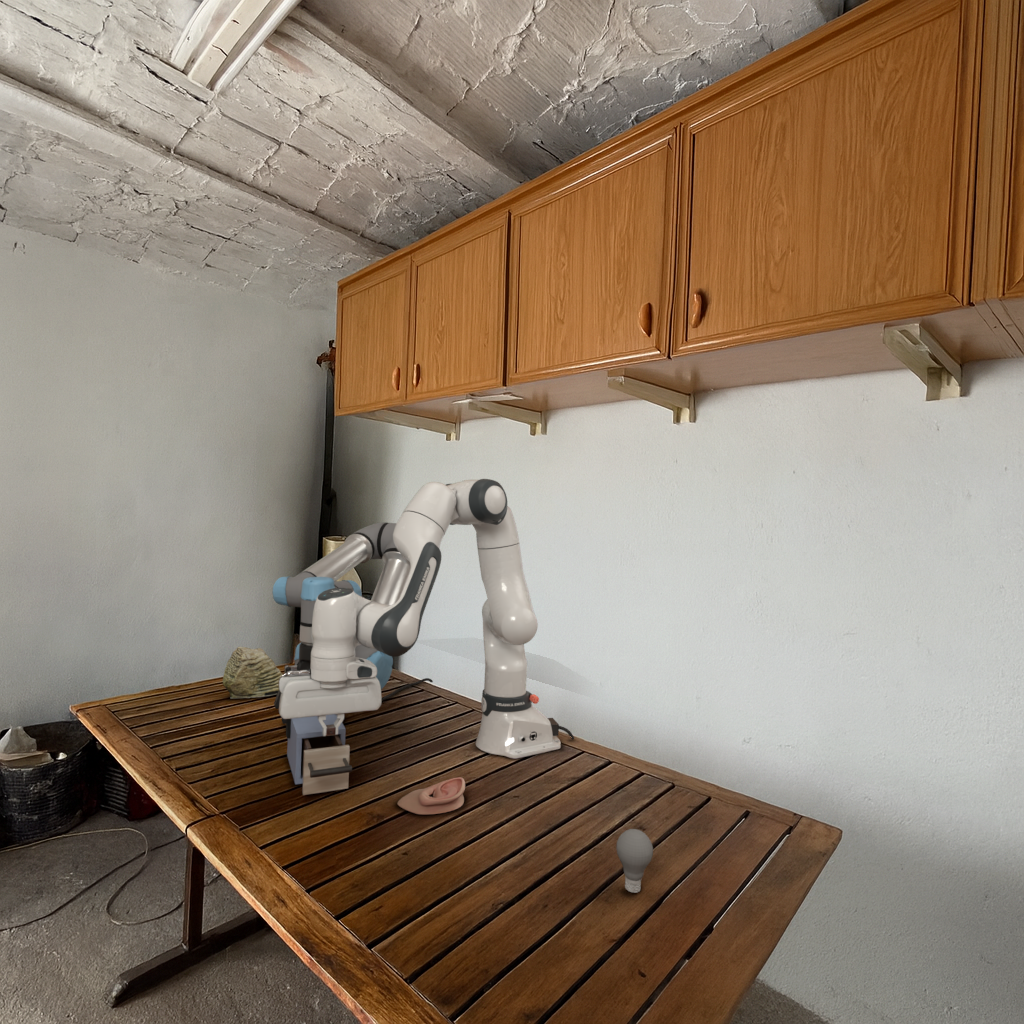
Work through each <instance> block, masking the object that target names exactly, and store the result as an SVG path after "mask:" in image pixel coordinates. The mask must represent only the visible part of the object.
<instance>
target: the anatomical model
mask: <svg viewBox="0 0 1024 1024" xmlns="http://www.w3.org/2000/svg"><path fill="white" fill-rule="evenodd" d="M465 789H466V781H465V779H464V778H463V777H461V776H459V777H453V778H449V779H446V780H442V781H439V782H437V783H435V784H432V785H431V786H430V785H429V786H428V787H425V788H419V789H416V790H412V791H411V792H409V793H406V794H405V795H403V796H402V797H401V798H400V799H399V800H398V801H397V806H398V807H400V808H402V809H403V810H405V811H408V812H410V813H413V814H414V815H415V814H416V815H422V816H423V815H424V816H425V815H436V814H445V813H448V812H449V813H450V812H453V811H455V810H457V809H460V808H461V807H462V806H464V802H465V797H464V792H465Z"/></svg>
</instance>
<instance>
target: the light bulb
mask: <svg viewBox="0 0 1024 1024" xmlns="http://www.w3.org/2000/svg"><path fill="white" fill-rule="evenodd" d="M615 849H616V854H617V857H618V859H619V861H620V863H621V865H622V867H623V873H624V874H623V875H624V876H625V878H624V888H625V890H627V891H628V892H630V893H634V894H635V893H639V892H640V891H641V889H642V887H641V886H642V879H643V877H644V875H645V871H646V868H647V867H648V866H649V864H650V863H651V861H652V859H653V855H654V847H653V843H652V841H651V838H649V836H648V835H647V834H646V833H645V832H643V831H642V830H641V829H636V828H629V829H627V830H625V831H623V832H622V833H621V834H620V835H619V837H618V839H617V841H616V847H615Z"/></svg>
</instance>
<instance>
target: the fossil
mask: <svg viewBox="0 0 1024 1024" xmlns="http://www.w3.org/2000/svg"><path fill="white" fill-rule="evenodd" d="M282 675H283V673H282V672H281V669H279V668H278V667H277V665H276V663H275V662H274V660H273V659H272V658H271V657H270V656H269V655H268V654H267V653H266V652H265V650H264V649H263V648H260V647H258V648H251V647H247V646H246V647H245V646H238V647H237V648H236V649H235V650H233V651H232V653H231V656H230V657H229V659H228V660H227V663H226V666H225V668H224V671H223V675H222V676H223V677H222V685H223V687H224V688H225V690H226V691H228V693H229V698H230V699H250V698H264V697H271V696H275V695H276V696H277V693H278V691H279V688H278V687H279V679H280V677H281V676H282Z"/></svg>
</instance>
